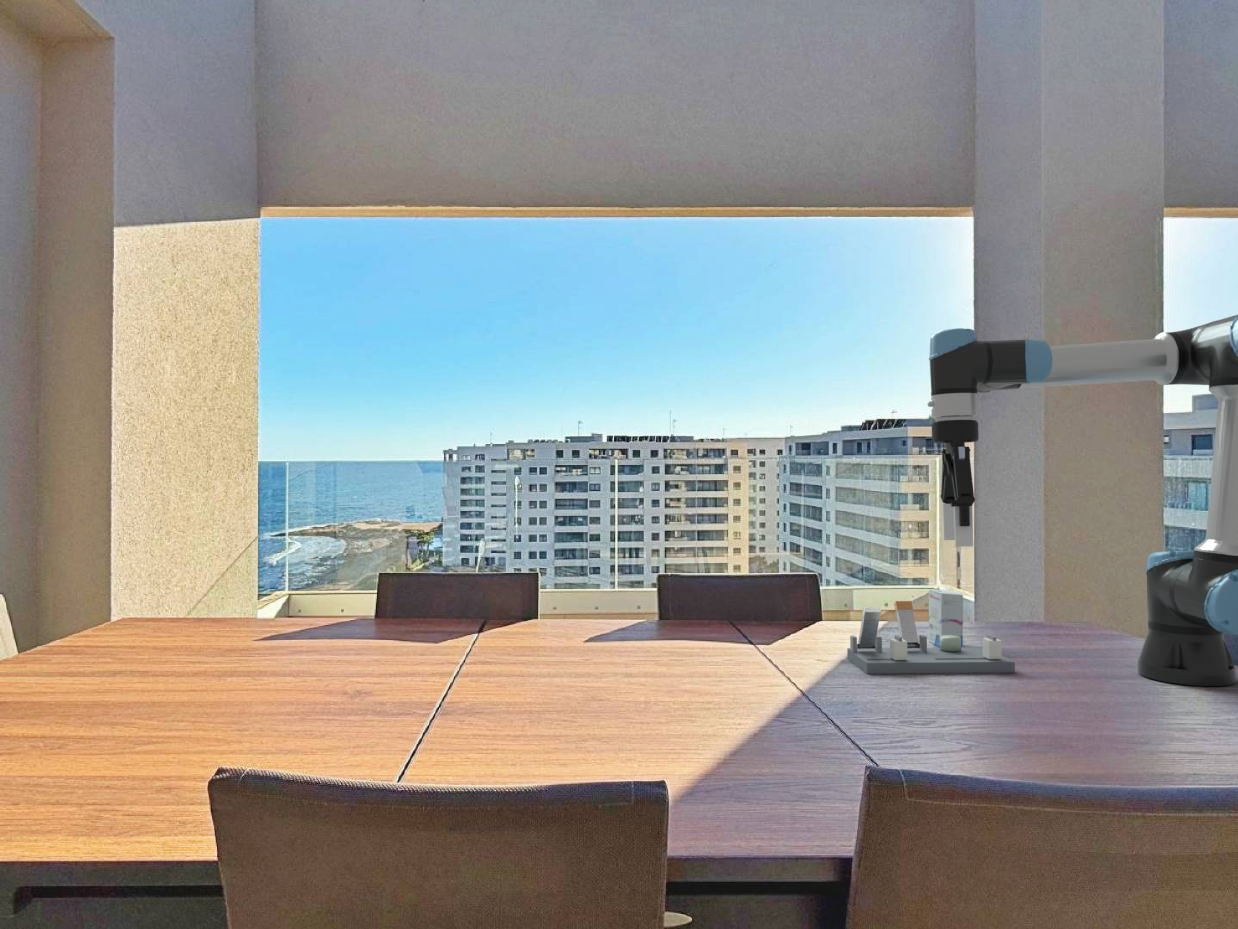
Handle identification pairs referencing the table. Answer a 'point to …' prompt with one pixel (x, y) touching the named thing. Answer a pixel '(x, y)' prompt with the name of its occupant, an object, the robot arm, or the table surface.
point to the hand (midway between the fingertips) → (957, 543)
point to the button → (950, 643)
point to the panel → (925, 660)
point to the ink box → (945, 615)
